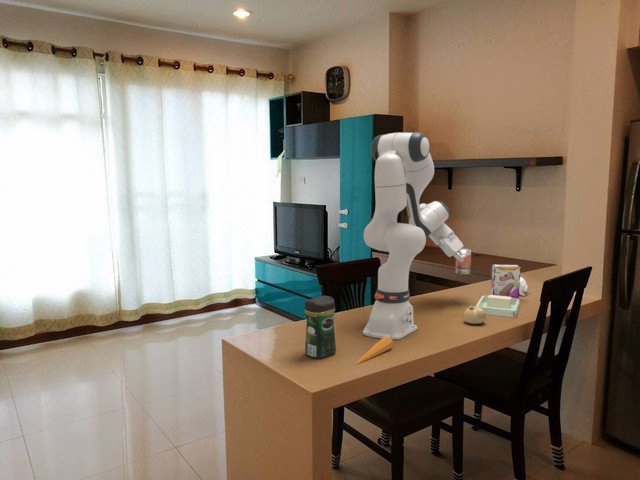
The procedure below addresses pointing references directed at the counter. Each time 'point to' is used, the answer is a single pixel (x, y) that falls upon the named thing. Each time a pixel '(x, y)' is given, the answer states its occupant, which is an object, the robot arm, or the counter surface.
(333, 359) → the counter surface
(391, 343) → the carrot
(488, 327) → the counter surface
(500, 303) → the cream rectangular block
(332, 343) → the coffee jar
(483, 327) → the counter surface
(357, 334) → the counter surface
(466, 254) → the pink glass candle
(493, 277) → the candy bar box
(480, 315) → the onion
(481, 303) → the mint green tray
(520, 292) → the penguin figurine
